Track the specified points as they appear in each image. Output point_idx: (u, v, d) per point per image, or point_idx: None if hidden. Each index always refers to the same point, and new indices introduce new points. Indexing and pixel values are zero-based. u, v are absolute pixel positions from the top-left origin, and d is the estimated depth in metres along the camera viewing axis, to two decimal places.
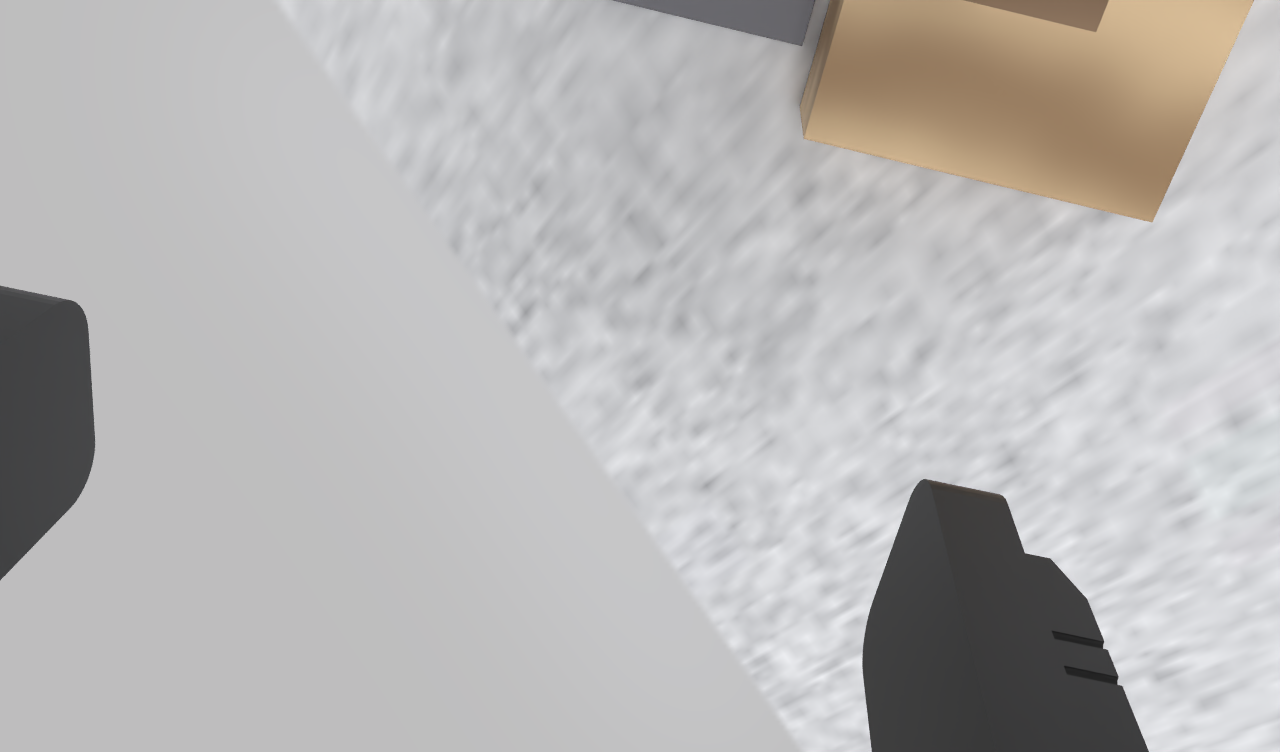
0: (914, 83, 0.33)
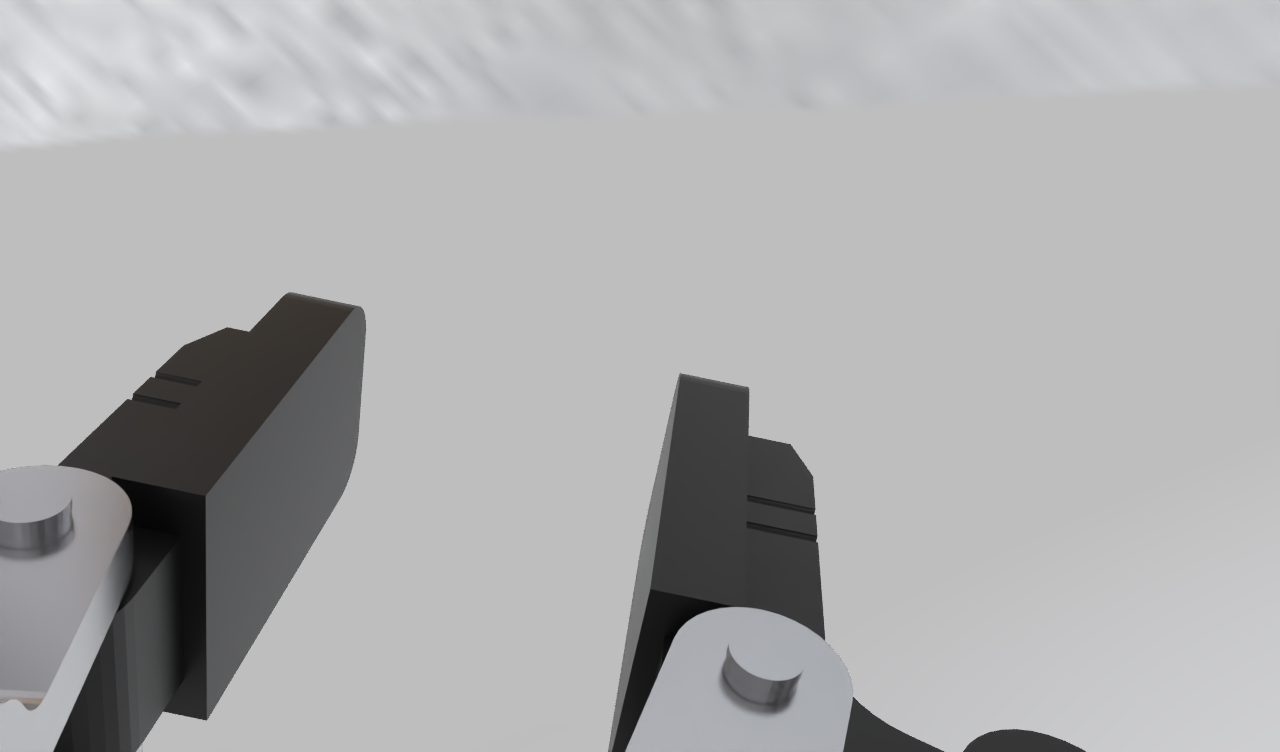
0: None
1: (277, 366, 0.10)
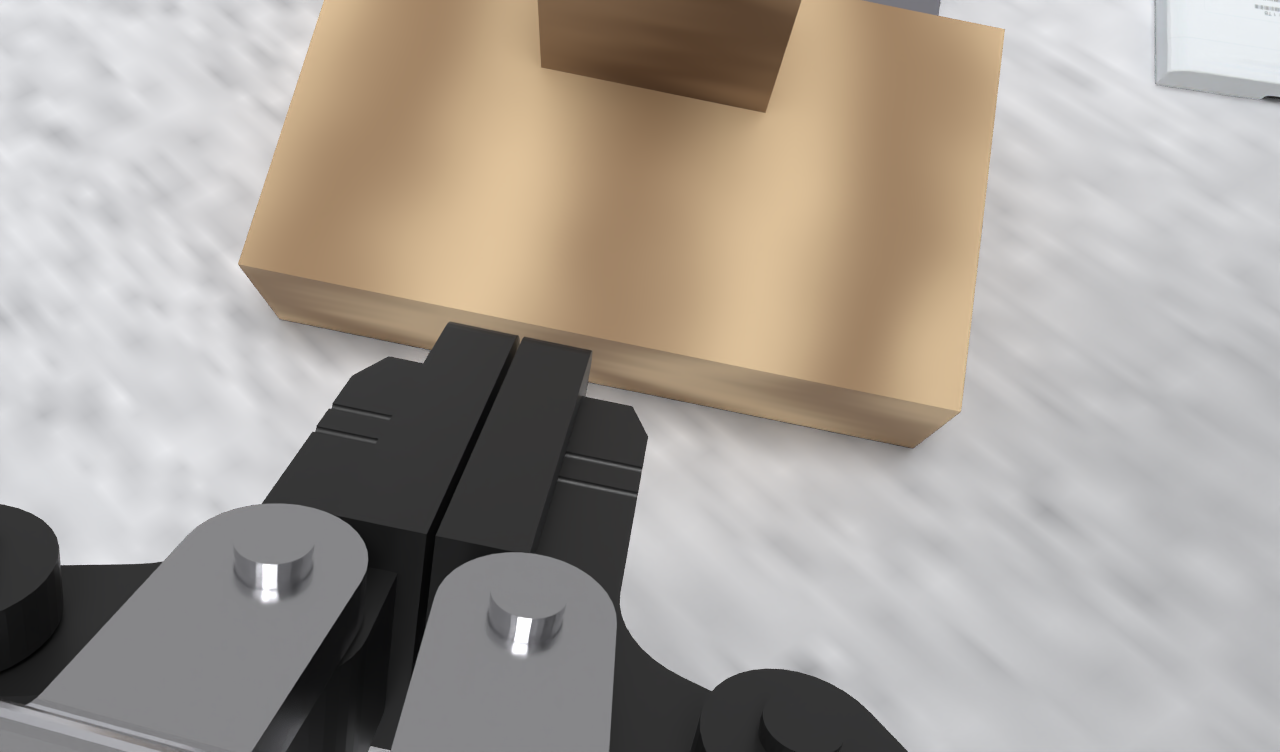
0: None
1: (459, 398, 0.10)
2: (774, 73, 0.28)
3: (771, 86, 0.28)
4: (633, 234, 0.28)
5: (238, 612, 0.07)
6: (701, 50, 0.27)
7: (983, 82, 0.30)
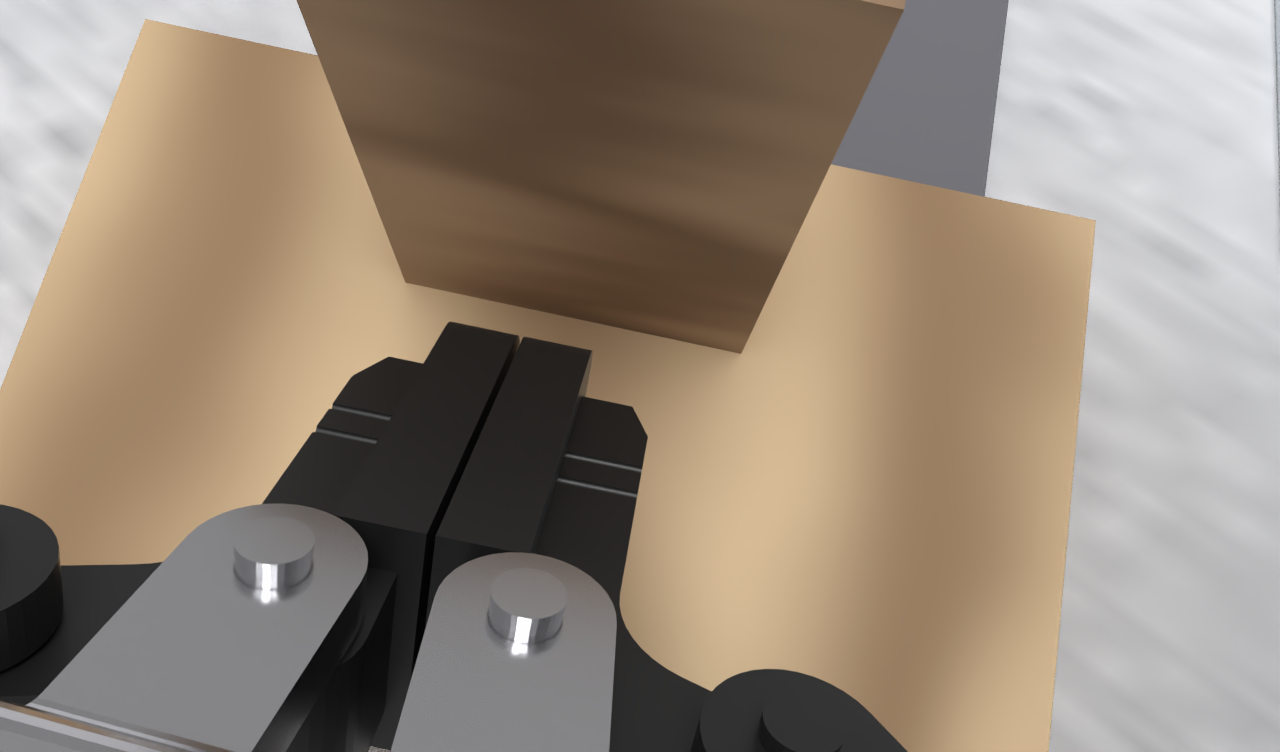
0: (225, 174, 0.20)
1: (459, 398, 0.10)
2: (753, 316, 0.18)
3: (749, 329, 0.18)
4: None
5: (239, 612, 0.07)
6: (638, 284, 0.17)
7: (1065, 303, 0.20)
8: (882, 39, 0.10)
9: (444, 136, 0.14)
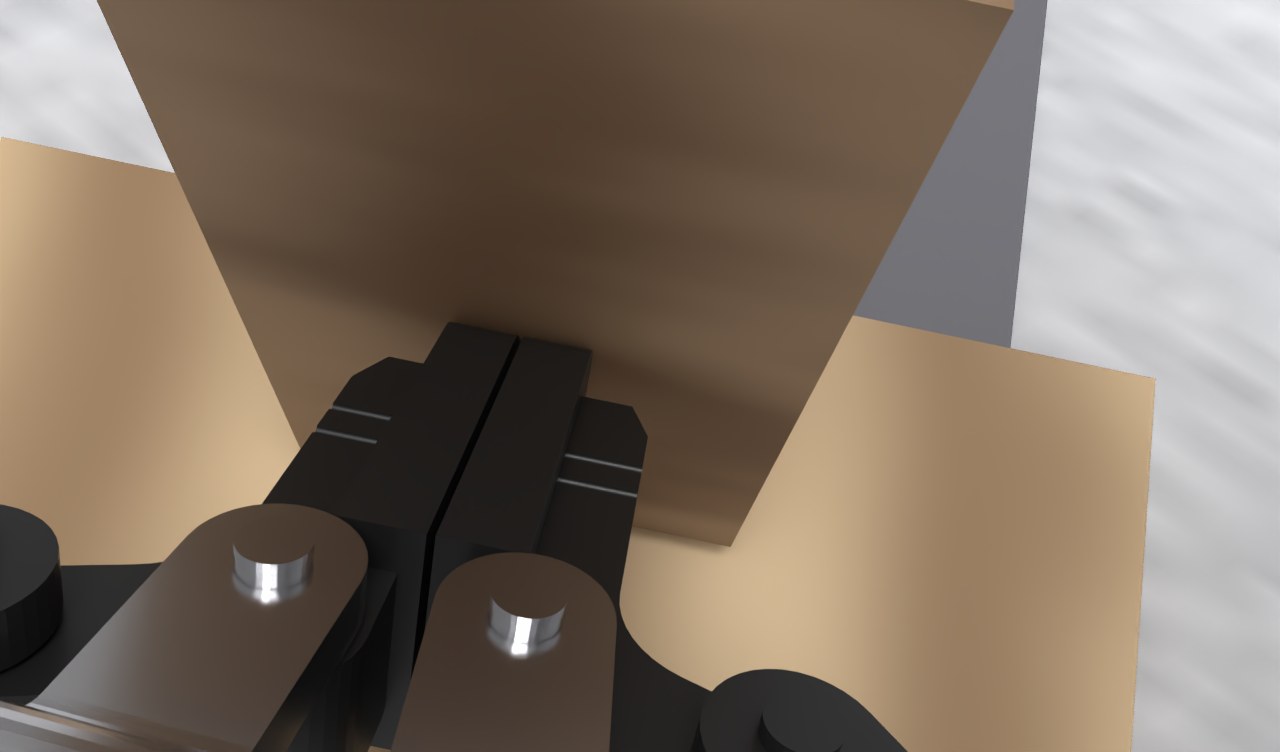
0: (93, 332, 0.16)
1: (459, 399, 0.10)
2: (748, 497, 0.14)
3: (742, 514, 0.14)
4: None
5: (238, 613, 0.07)
6: None
7: (1121, 485, 0.17)
8: (973, 65, 0.07)
9: (336, 246, 0.10)
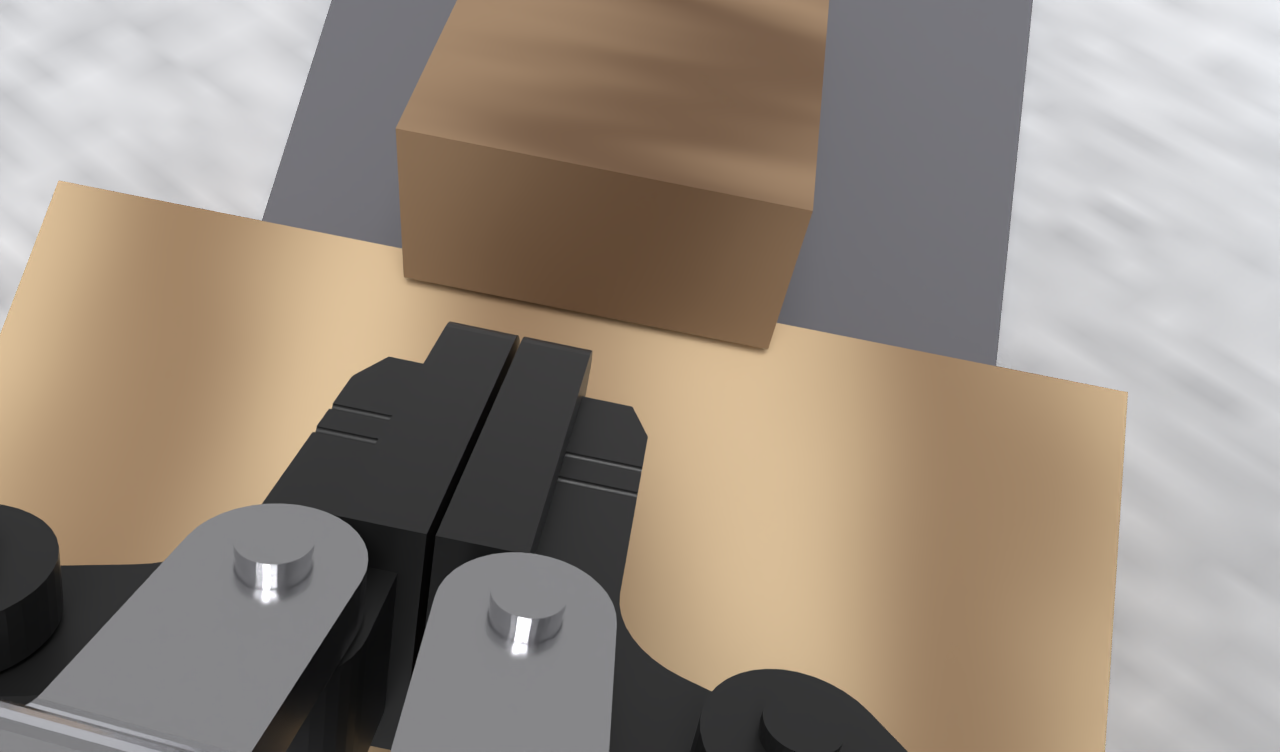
0: (147, 361, 0.18)
1: (459, 398, 0.10)
2: (813, 128, 0.17)
3: (813, 153, 0.17)
4: None
5: (238, 612, 0.07)
6: (695, 92, 0.17)
7: (1096, 491, 0.18)
8: None
9: None
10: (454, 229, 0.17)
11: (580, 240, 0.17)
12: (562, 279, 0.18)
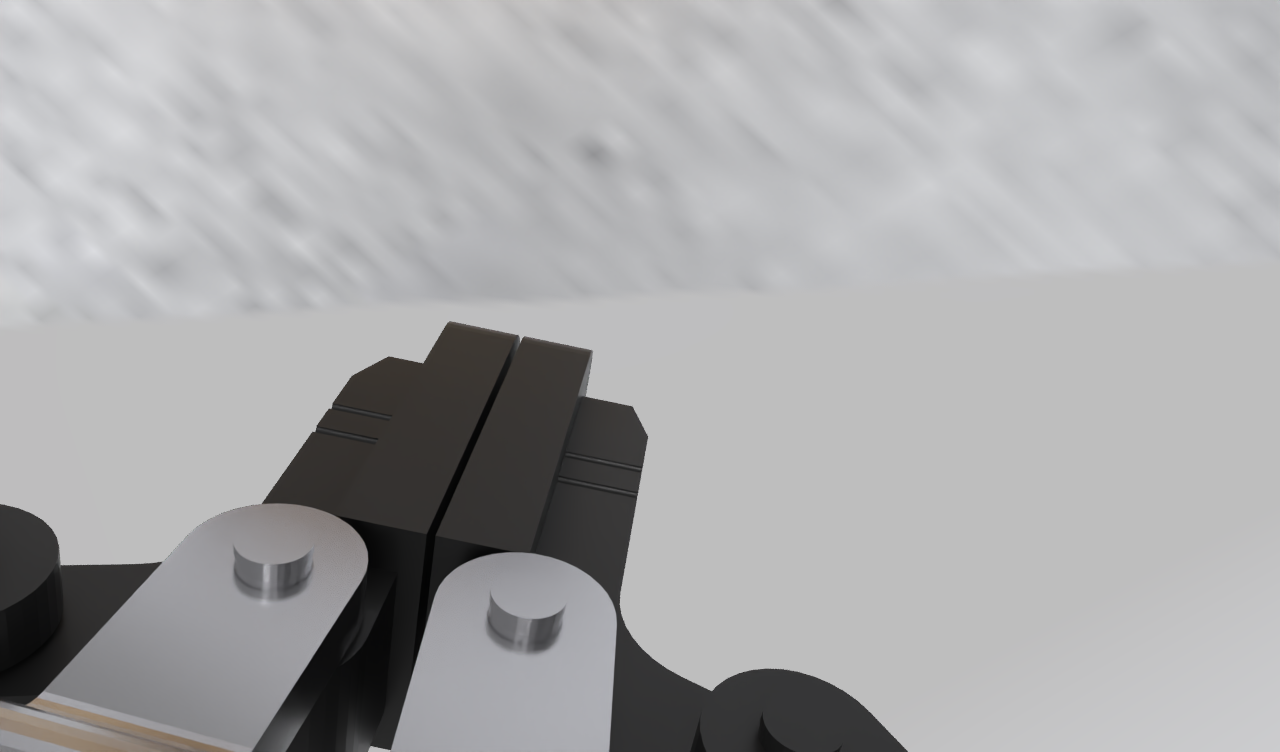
0: None
1: (459, 398, 0.10)
2: None
3: None
4: None
5: (238, 612, 0.07)
6: None
7: None
8: None
9: None
10: None
11: None
12: None
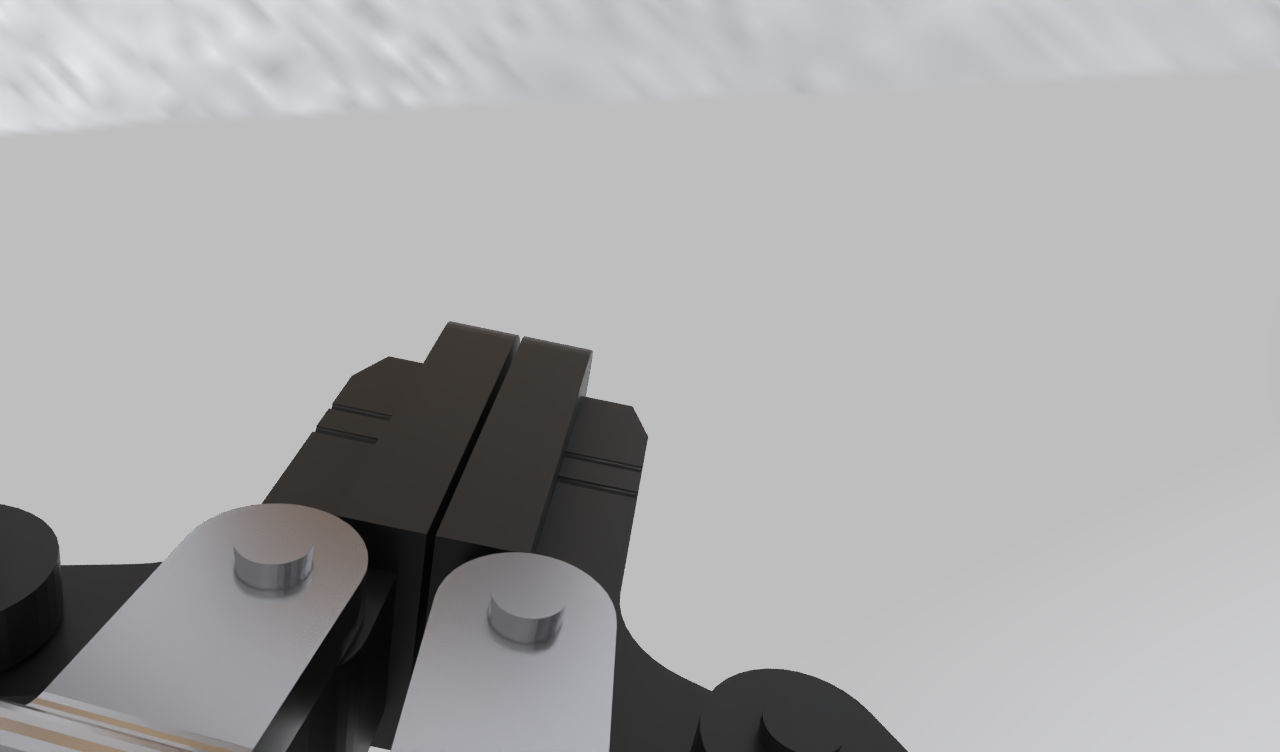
0: None
1: (459, 398, 0.10)
2: None
3: None
4: None
5: (238, 612, 0.07)
6: None
7: None
8: None
9: None
10: None
11: None
12: None
